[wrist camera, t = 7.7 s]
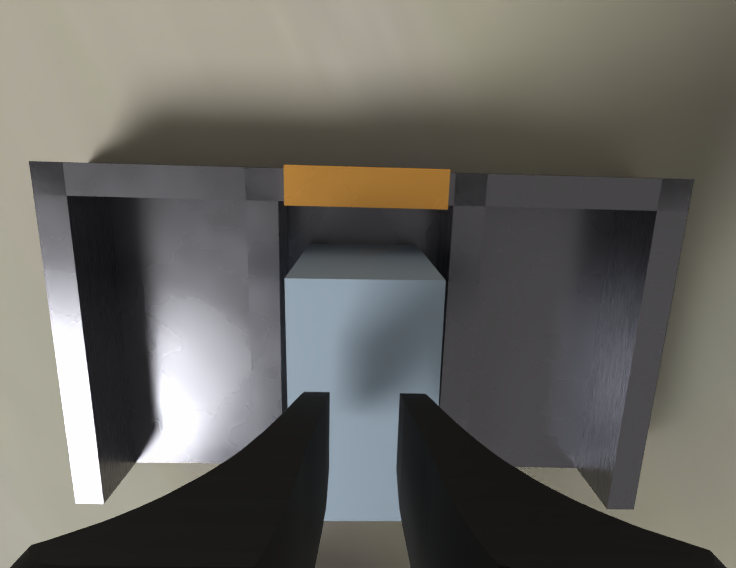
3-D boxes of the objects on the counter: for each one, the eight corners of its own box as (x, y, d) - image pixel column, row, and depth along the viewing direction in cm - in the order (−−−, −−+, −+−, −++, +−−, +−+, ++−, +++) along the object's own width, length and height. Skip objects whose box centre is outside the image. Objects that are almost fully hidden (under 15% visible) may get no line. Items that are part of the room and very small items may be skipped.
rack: (594, 454, 21) (646, 517, 17) (117, 448, 20) (62, 511, 16) (637, 176, 18) (711, 176, 14) (86, 160, 17) (10, 157, 14)
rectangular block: (409, 414, 19) (431, 521, 13) (311, 413, 19) (290, 520, 13) (416, 245, 17) (445, 280, 12) (309, 243, 17) (284, 278, 11)
